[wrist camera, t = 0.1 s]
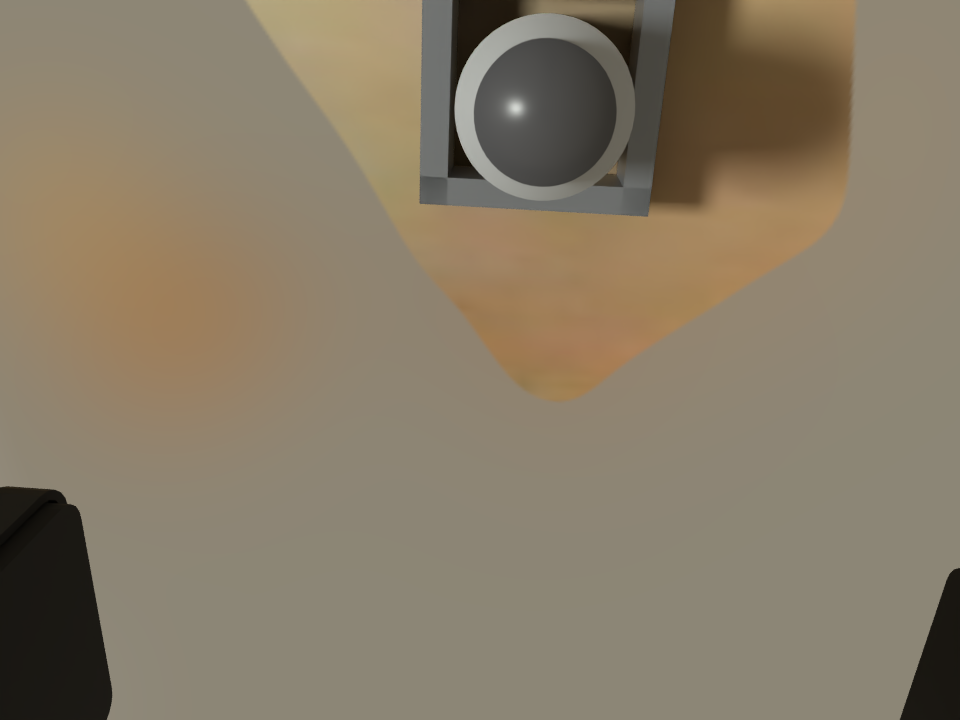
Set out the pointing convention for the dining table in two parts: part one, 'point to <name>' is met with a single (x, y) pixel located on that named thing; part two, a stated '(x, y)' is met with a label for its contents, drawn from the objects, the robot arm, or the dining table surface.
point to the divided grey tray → (472, 189)
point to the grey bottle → (544, 106)
